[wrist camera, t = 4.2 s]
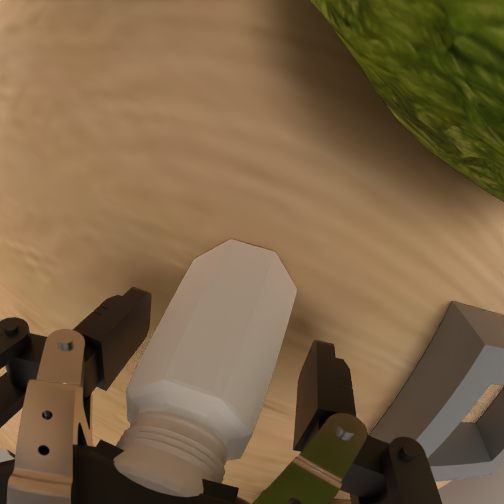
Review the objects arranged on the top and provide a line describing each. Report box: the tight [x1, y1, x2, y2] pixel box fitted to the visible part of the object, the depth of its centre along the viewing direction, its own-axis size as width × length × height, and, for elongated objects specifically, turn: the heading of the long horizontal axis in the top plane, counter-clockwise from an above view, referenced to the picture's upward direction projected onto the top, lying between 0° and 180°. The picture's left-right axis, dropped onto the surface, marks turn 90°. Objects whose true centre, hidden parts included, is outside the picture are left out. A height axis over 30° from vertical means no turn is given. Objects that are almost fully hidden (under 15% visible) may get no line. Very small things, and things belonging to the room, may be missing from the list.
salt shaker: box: [113, 239, 297, 497], centre depth 10 cm, size 5×5×11 cm
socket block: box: [369, 301, 504, 481], centre depth 13 cm, size 11×11×4 cm
